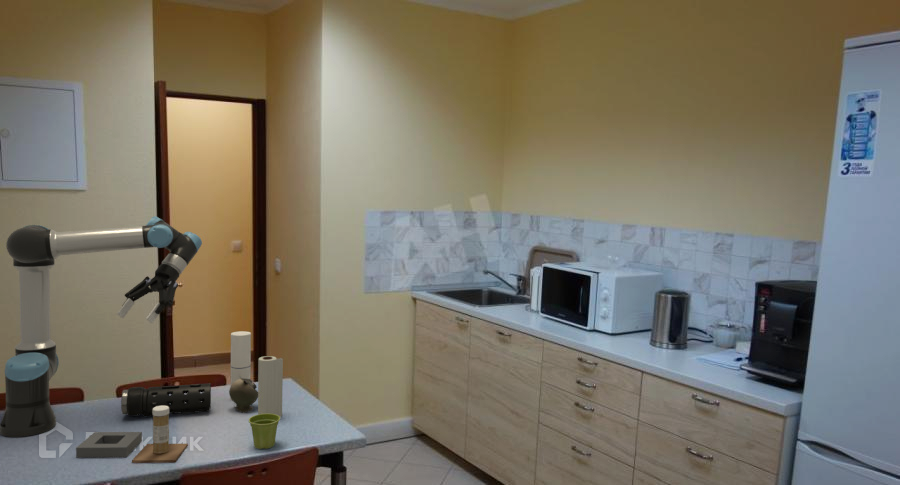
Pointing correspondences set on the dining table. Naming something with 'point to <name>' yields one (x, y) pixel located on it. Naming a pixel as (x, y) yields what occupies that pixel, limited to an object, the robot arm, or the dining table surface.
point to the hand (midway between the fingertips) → (134, 318)
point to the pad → (168, 457)
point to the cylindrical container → (240, 355)
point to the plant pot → (264, 430)
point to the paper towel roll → (270, 385)
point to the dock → (109, 444)
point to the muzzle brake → (166, 399)
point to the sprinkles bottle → (160, 429)
